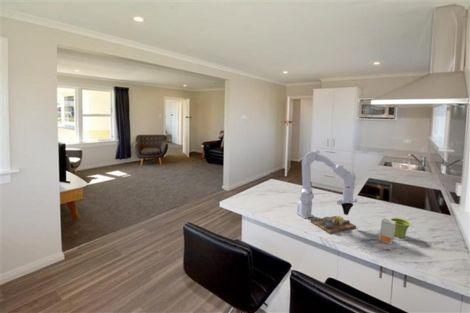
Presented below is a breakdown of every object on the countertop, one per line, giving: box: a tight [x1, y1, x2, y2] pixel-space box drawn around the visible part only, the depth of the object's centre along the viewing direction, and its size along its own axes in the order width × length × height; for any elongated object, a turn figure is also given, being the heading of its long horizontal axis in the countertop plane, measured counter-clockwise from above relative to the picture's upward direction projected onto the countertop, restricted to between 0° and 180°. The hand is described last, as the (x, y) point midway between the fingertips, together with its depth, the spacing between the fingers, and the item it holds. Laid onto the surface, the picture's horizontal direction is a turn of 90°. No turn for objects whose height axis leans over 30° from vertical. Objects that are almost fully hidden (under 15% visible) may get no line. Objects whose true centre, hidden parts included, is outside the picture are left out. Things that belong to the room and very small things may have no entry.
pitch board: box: [310, 215, 357, 234], centre depth 158 cm, size 16×21×7 cm
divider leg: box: [334, 215, 344, 226], centre depth 157 cm, size 5×3×5 cm, turn 24°
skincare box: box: [378, 218, 396, 245], centre depth 139 cm, size 6×4×12 cm
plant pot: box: [390, 217, 411, 239], centre depth 147 cm, size 9×9×9 cm
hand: (345, 214), depth 158 cm, fingers closed
